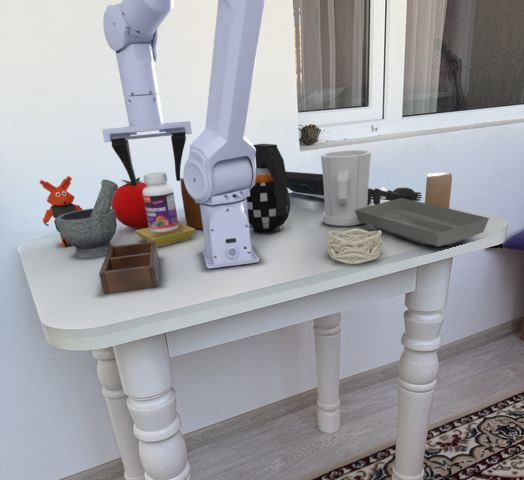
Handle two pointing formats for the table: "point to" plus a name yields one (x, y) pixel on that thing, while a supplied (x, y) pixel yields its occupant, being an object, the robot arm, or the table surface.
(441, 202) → the wooden block
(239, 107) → the robot arm
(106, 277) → the rack
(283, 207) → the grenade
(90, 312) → the table surface
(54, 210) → the toy animal
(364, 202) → the cup
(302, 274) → the table surface
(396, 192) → the figurine
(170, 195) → the pill bottle
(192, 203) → the mug
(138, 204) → the tomato
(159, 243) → the saucer
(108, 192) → the mortar and pestle
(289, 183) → the smart home device
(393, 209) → the grey tray
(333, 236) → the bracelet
